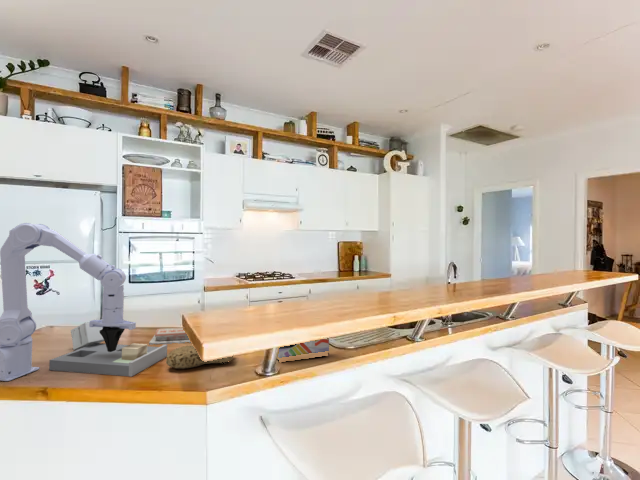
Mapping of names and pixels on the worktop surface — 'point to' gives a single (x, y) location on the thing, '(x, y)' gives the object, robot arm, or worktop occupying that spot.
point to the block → (134, 351)
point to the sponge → (188, 358)
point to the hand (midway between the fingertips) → (111, 350)
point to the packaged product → (169, 336)
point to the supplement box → (86, 335)
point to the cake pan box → (304, 348)
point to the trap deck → (106, 360)
